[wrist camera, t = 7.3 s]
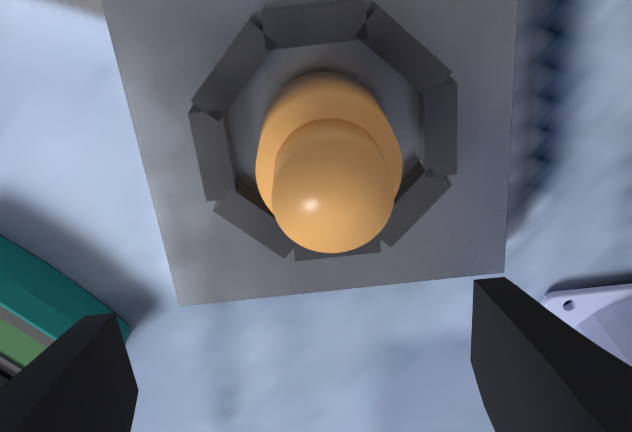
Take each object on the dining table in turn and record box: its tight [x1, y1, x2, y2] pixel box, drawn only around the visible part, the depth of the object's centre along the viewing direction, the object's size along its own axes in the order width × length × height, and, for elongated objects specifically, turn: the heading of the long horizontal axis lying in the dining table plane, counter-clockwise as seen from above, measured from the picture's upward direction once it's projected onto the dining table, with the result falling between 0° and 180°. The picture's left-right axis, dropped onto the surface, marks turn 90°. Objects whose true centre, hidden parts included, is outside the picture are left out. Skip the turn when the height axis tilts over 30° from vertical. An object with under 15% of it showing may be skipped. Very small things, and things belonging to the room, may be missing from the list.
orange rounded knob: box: [255, 72, 403, 253], centre depth 16 cm, size 4×4×5 cm
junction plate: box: [101, 0, 518, 306], centre depth 19 cm, size 12×12×2 cm
